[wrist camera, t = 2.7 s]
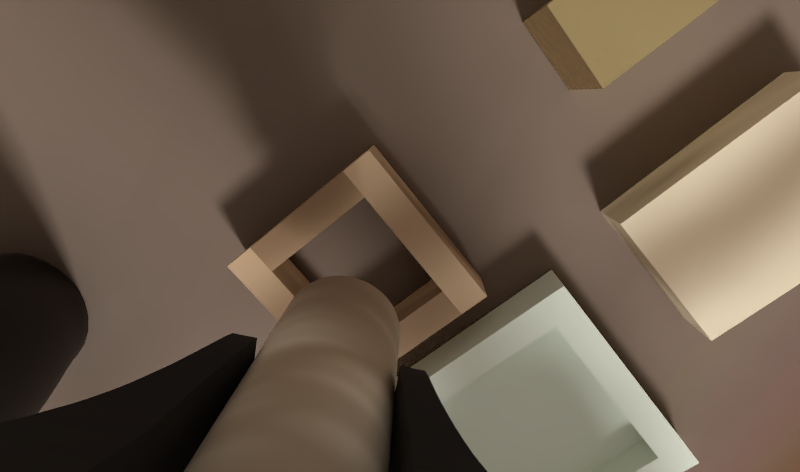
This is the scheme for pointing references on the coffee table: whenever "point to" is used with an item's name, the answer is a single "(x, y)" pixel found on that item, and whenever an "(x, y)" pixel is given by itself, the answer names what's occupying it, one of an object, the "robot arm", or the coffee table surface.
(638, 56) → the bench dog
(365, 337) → the dowel
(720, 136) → the beige rectangular box
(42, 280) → the mug
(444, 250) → the socket block
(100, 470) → the robot arm
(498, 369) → the tray
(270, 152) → the coffee table surface
